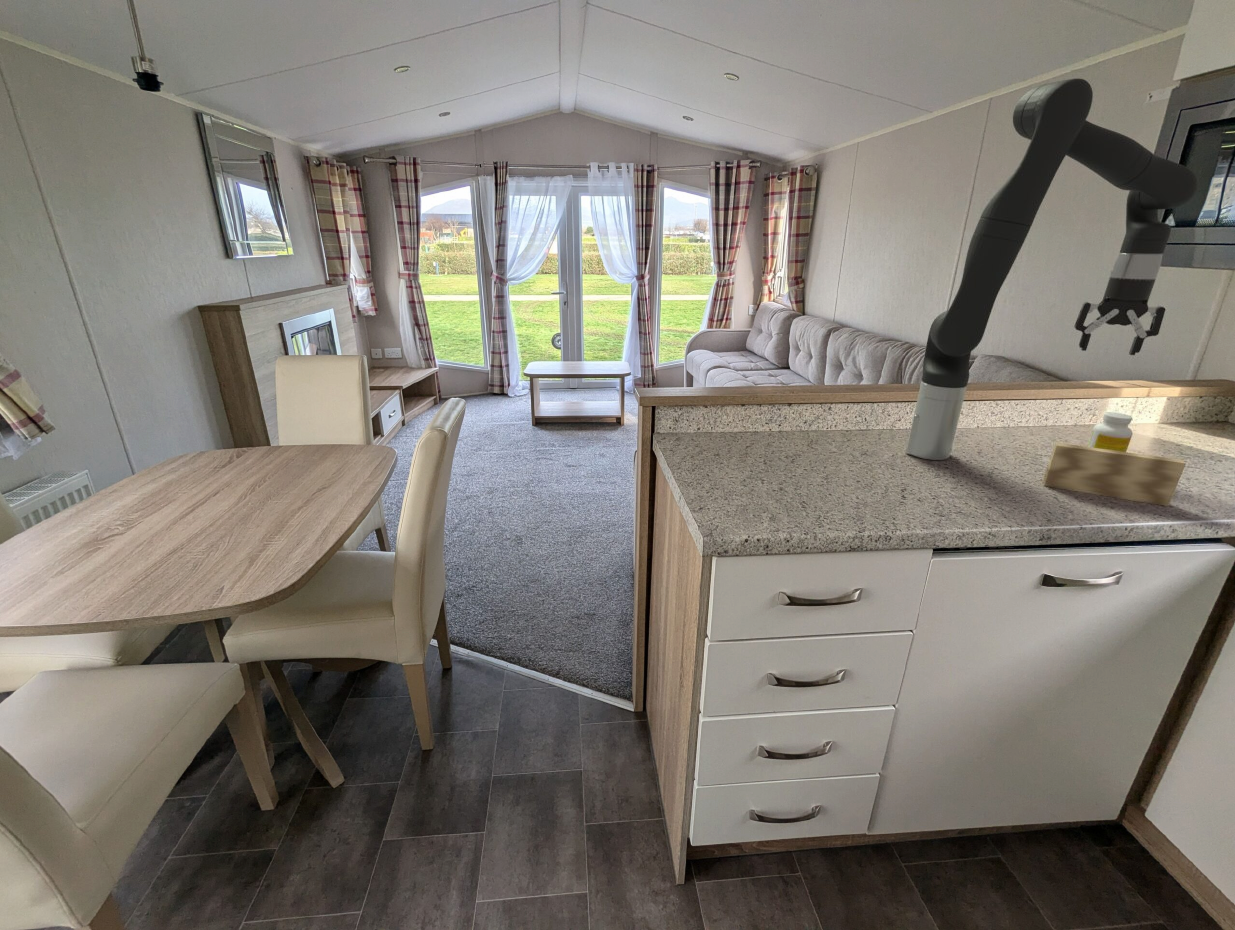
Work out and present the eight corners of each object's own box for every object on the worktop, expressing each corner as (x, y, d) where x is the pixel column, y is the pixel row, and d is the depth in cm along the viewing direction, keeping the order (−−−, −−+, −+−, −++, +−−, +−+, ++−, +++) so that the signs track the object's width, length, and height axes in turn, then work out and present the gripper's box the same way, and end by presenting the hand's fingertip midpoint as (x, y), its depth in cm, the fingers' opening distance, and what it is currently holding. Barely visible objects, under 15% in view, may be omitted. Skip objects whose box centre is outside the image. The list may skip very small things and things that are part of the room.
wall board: (1043, 485, 119) (1056, 445, 116) (1039, 474, 125) (1052, 436, 121) (1168, 506, 111) (1186, 463, 107) (1158, 493, 116) (1174, 452, 112)
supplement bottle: (1124, 477, 124) (1146, 420, 119) (1090, 474, 125) (1110, 418, 120) (1107, 465, 130) (1126, 411, 125) (1074, 463, 131) (1092, 409, 126)
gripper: (1093, 275, 121) (1069, 351, 128) (1182, 279, 115) (1152, 359, 121) (1088, 273, 127) (1066, 346, 134) (1173, 276, 120) (1145, 353, 127)
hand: (1107, 352), depth 127 cm, fingers open, 8 cm apart
